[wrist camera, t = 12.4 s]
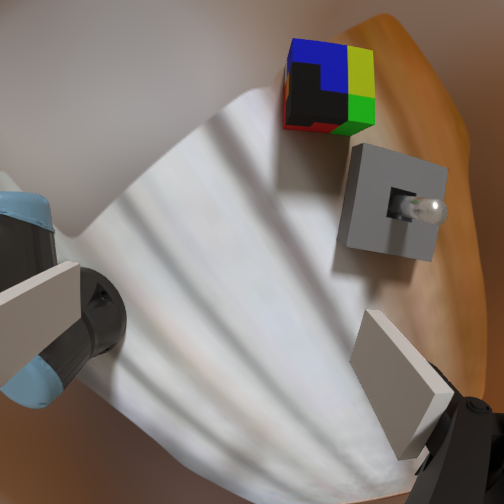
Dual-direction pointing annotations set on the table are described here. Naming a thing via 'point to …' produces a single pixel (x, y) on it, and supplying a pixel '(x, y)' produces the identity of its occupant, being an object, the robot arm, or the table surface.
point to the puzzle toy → (328, 88)
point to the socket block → (377, 198)
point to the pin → (418, 208)
